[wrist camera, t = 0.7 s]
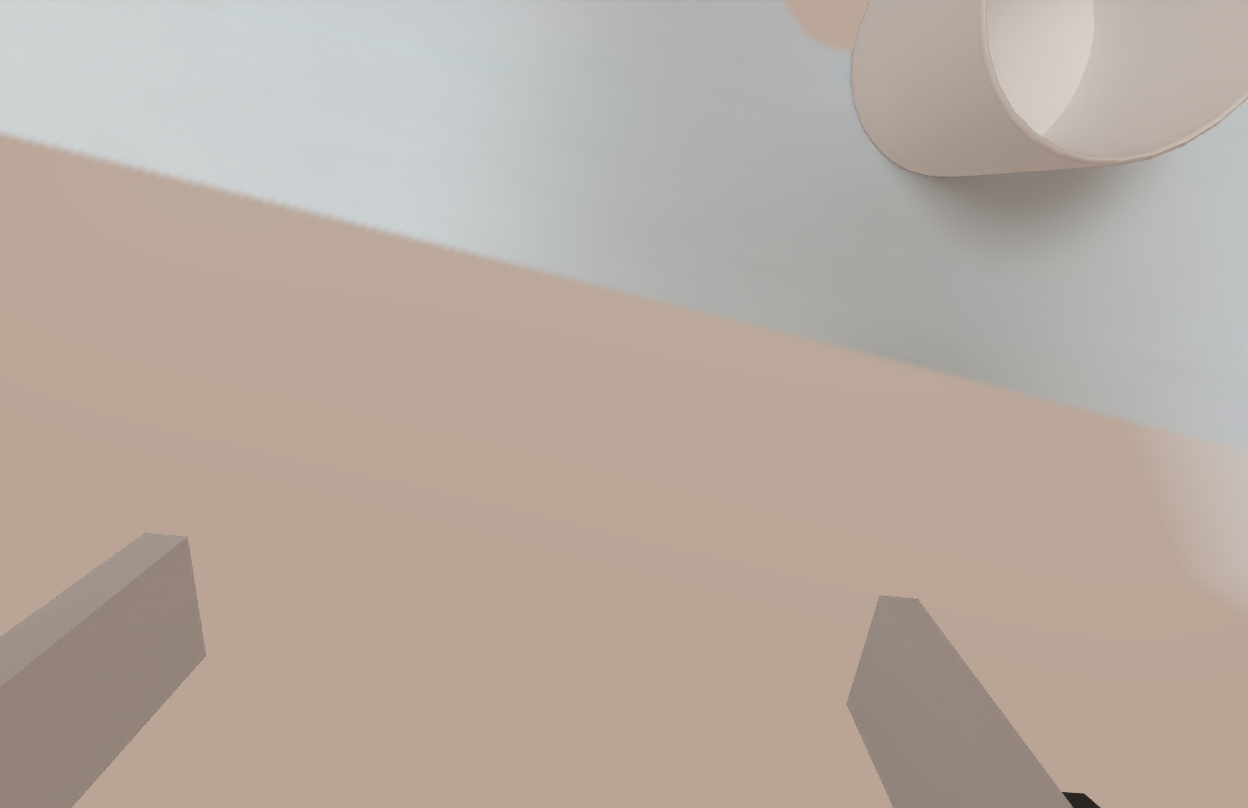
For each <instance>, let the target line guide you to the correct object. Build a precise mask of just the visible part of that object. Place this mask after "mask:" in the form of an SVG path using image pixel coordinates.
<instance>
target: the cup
mask: <svg viewBox="0 0 1248 808" xmlns="http://www.w3.org/2000/svg"><path fill="white" fill-rule="evenodd" d="M851 84H852V90H853V97H854V104H855V107H856V110H857V113H858V116H859V118H860V121H861V124H862V126H863V128H864V130H865V131H866V133H867V134H868V136H869V138H870V139H871V141H872V142H873V144H874V145H875V146H876V147H877V148H878V149H879V150H880V151H881V152H882V153H883V154H884V155H885V156H886V157H887V158H888V159H889V160H891V161H892V162H894V163H896V164H898V165H899V166H901V167H903V168H905V169H907V170H908V171H912V172H916V173H919V174H923V175H926V176H942V177H962V176H976V175H989V174H1003V173H1017V172H1030V171H1044V170H1058V169H1071V168H1085V167H1099V166H1112V165H1120V164H1126V163H1131V162H1136V161H1142V160H1147V159H1151V158H1154V157H1156V156H1159V155H1161V154H1164V153H1166V152H1169V151H1171V150H1174V149H1176V148H1179V147H1181V146H1184V145H1185V144H1187V143H1188V142H1190V141H1192V140H1193V139H1195V138H1197V137H1198V136H1200V135H1201V134H1203V133H1205V132H1206V131H1208V130H1210V129H1211V128H1213V127H1214V126H1216V125H1217V124H1218V123H1220V122H1221V121H1222V120H1223V119H1224V118H1225V117H1226V116H1228V115H1229V114H1230V113H1231V112H1232V111H1233V110H1235V109H1236V108H1237V107H1238V106H1239V105H1240V104H1242V103H1243V102H1244V101H1245V100H1246V99H1247V98H1248V0H871V1H870V2H869V4H868V7H867V9H866V11H865V14H864V16H863V18H862V21H861V23H860V25H859V28H858V32H857V36H856V41H855V45H854V49H853V54H852V71H851Z"/></svg>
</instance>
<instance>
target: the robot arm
mask: <svg viewBox="0 0 1248 808" xmlns="http://www.w3.org/2000/svg"><path fill="white" fill-rule="evenodd" d="M205 656H206V652H205V645H204V639H203V633H202V626H201V620H200V613H199V607H198V600H197V594H196V587H195V581H194V575H193V568H192V562H191V556H190V549H189V543H188V537H187V536H175V535H162V534H151V533H144V534H142V535H141V536H140V537H138V538H137V539H135V540H134V541H133V542H131V543H130V544H129V545H127V546H126V547H124V548H123V549H122V550H120V551H119V552H117V553H116V554H115V555H113V556H112V557H111V558H109V559H108V560H106V561H105V562H104V563H102V564H101V565H99V566H98V567H97V568H95V569H94V570H93V571H91V572H90V573H88V574H87V575H86V576H85V577H83V578H81V579H80V580H79V581H77V582H76V583H75V584H73V585H72V586H70V587H69V588H68V589H66V590H65V591H64V592H62V593H61V594H59V595H58V596H56V597H55V598H54V599H52V600H51V601H50V602H48V603H47V604H46V605H44V606H43V607H41V608H40V609H39V610H37V611H36V612H34V613H33V614H32V615H30V616H29V617H28V618H26V619H25V620H23V621H22V622H20V623H19V624H18V625H16V626H15V627H14V628H12V629H11V630H9V631H8V632H7V633H5V634H4V635H2V636H1V637H0V808H72V807H73V805H74V804H75V803H76V802H77V801H78V800H79V799H80V798H81V796H82V795H83V794H84V793H85V792H86V791H87V790H88V788H89V787H90V786H91V785H92V784H93V783H94V782H95V781H96V779H97V778H98V777H99V776H100V775H101V774H102V773H103V771H104V770H105V769H106V768H107V767H108V766H109V765H110V763H111V762H112V761H113V760H114V759H115V758H116V756H118V755H119V753H120V752H121V751H122V750H123V749H124V748H125V747H126V746H127V744H128V743H129V742H130V741H131V740H132V739H133V738H134V736H135V735H136V734H137V733H138V732H139V731H140V730H141V728H142V727H143V726H144V725H145V724H146V723H147V722H148V721H149V720H150V718H151V717H152V716H153V715H154V714H155V713H156V712H157V710H158V709H159V708H160V707H161V706H162V705H163V704H164V702H165V701H166V700H167V699H168V698H169V697H170V696H171V695H172V693H173V692H174V691H175V690H176V689H177V688H178V687H179V686H180V684H181V683H182V682H183V681H184V680H185V679H186V678H187V677H188V675H189V674H190V673H191V672H192V671H193V670H194V669H195V667H196V666H197V665H198V664H199V663H200V662H201V661H202V660H203V658H204V657H205ZM847 706H848V708H849V711H850V713H851V715H852V717H853V720H854V722H855V724H856V726H857V728H858V731H859V733H860V735H861V737H862V739H863V742H864V744H865V746H866V748H867V750H868V753H869V755H870V757H871V759H872V761H873V764H874V766H875V768H876V770H877V773H878V775H879V777H880V779H881V781H882V784H883V786H884V788H885V790H886V792H887V795H888V797H889V799H890V801H891V803H892V806H893V808H1100V807H1099V806H1098V805H1096V804H1095V803H1094V802H1093V801H1092V800H1091V799H1090V798H1089V797H1087V796H1086V795H1085V794H1081V793H1067V792H1061V791H1060V789H1059V788H1058V787H1057V785H1056V784H1055V783H1054V781H1053V780H1052V779H1051V777H1050V776H1049V775H1048V773H1047V772H1046V771H1045V769H1044V768H1043V767H1042V765H1041V764H1040V763H1039V761H1038V760H1037V759H1036V757H1035V756H1034V754H1033V753H1032V752H1031V751H1030V749H1029V748H1028V746H1027V745H1026V744H1025V742H1024V741H1023V740H1022V738H1021V737H1020V736H1019V735H1018V733H1017V732H1016V730H1015V729H1014V728H1013V726H1012V725H1011V724H1010V722H1009V721H1008V720H1007V718H1006V717H1005V716H1004V715H1003V713H1002V711H1001V710H1000V709H999V707H998V706H997V705H996V703H995V702H994V701H993V699H992V698H991V697H990V695H989V694H988V693H987V691H986V690H985V689H984V687H983V686H982V685H981V683H980V682H979V681H978V679H977V678H976V677H975V675H974V674H973V673H972V671H971V670H970V669H969V667H968V666H967V665H966V663H965V662H964V661H963V659H962V658H961V657H960V655H959V654H958V652H957V651H956V650H955V649H954V647H953V646H952V644H951V643H950V642H949V640H948V639H947V638H946V636H945V635H944V634H943V632H942V631H941V630H940V628H939V627H938V626H937V624H936V623H935V622H934V620H933V619H932V618H931V616H930V615H929V614H928V612H927V611H926V610H925V608H924V607H923V605H922V604H921V603H920V601H919V600H918V599H912V598H900V597H889V596H879V600H878V603H877V606H876V609H875V613H874V616H873V619H872V622H871V626H870V629H869V632H868V636H867V639H866V642H865V645H864V649H863V652H862V655H861V658H860V662H859V665H858V668H857V672H856V675H855V678H854V681H853V685H852V688H851V691H850V694H849V698H848V701H847Z"/></svg>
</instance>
